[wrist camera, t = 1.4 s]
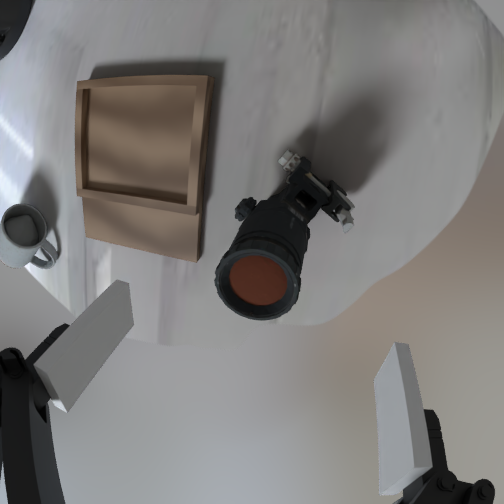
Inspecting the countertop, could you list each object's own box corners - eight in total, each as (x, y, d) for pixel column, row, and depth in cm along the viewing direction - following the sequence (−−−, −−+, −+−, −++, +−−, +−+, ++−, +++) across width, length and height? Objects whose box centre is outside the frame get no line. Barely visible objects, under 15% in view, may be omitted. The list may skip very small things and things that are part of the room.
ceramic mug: (15, 225, 41) (-16, 245, 34) (29, 195, 37) (-7, 214, 31) (50, 272, 43) (21, 297, 37) (68, 248, 40) (34, 273, 33)
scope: (376, 265, 17) (267, 354, 22) (353, 198, 29) (287, 264, 34) (267, 169, 16) (174, 286, 21) (289, 142, 28) (228, 216, 33)
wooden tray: (88, 81, 28) (77, 81, 27) (214, 77, 26) (207, 75, 25) (90, 234, 38) (81, 240, 36) (199, 258, 36) (193, 266, 34)
